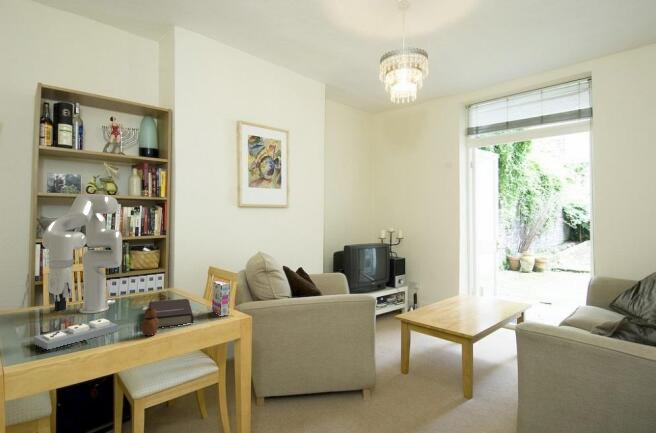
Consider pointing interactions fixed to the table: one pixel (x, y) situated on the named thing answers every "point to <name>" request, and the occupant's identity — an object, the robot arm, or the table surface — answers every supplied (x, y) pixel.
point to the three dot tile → (54, 335)
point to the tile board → (74, 336)
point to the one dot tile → (99, 323)
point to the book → (173, 312)
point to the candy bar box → (220, 297)
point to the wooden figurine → (150, 321)
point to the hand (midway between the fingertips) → (60, 310)
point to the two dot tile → (78, 328)
